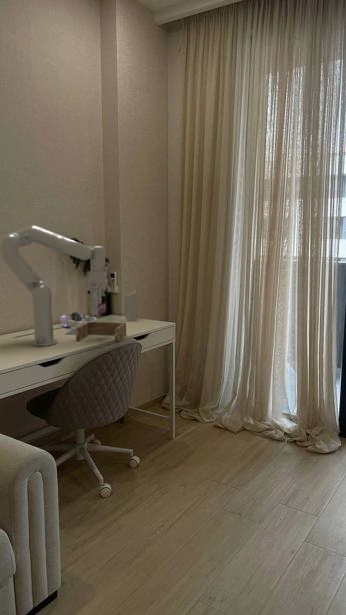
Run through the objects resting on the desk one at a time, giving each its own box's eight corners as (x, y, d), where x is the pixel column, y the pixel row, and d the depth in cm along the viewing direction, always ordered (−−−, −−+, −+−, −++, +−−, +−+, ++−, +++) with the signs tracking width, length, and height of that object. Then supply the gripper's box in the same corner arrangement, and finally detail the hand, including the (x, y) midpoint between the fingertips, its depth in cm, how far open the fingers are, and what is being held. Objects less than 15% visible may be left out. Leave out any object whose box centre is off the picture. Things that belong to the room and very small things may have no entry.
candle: (117, 319, 305) (116, 289, 302) (137, 319, 303) (137, 289, 300) (114, 321, 298) (114, 291, 294) (135, 321, 296) (135, 291, 293)
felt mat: (78, 334, 258) (78, 334, 258) (65, 334, 259) (65, 333, 259) (85, 330, 270) (85, 329, 270) (72, 329, 271) (72, 329, 271)
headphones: (54, 326, 276) (84, 334, 268) (55, 314, 275) (84, 321, 266) (77, 320, 296) (105, 327, 287) (78, 309, 295) (106, 315, 286)
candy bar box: (97, 312, 250) (97, 282, 247) (106, 312, 249) (106, 282, 246) (89, 315, 239) (89, 284, 236) (98, 315, 238) (98, 284, 236)
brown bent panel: (117, 342, 238) (116, 329, 237) (76, 341, 242) (75, 328, 241) (126, 334, 256) (125, 322, 255) (88, 333, 260) (87, 321, 259)
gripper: (115, 269, 243) (115, 302, 245) (84, 268, 245) (85, 301, 248) (111, 270, 235) (111, 304, 238) (79, 269, 238) (80, 303, 241)
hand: (98, 302), depth 243 cm, fingers closed on candy bar box, 5 cm apart
